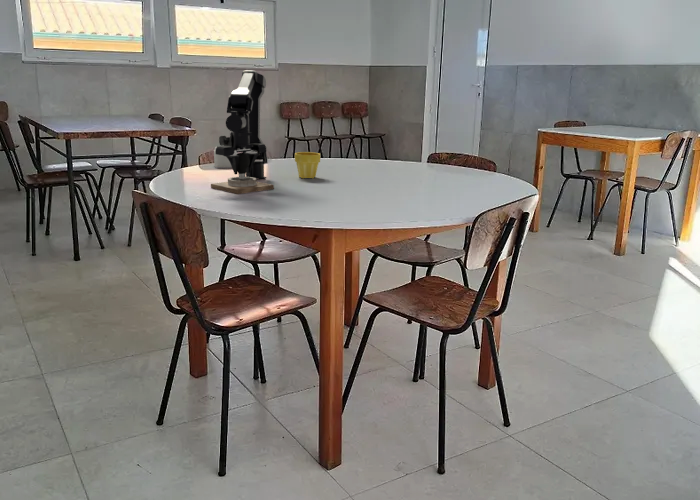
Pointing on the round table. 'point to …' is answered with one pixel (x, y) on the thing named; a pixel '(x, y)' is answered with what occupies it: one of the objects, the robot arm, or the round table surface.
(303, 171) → the plant pot
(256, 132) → the robot arm
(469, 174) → the round table surface
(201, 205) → the round table surface
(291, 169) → the round table surface
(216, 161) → the lumpy-topped squat cylinder
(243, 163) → the light bulb
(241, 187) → the socket base
